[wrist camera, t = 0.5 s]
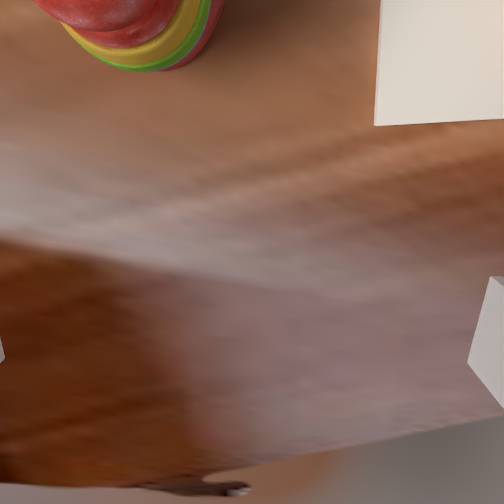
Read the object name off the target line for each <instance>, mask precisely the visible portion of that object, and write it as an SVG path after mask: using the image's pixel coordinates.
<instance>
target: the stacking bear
mask: <svg viewBox="0 0 504 504" xmlns="http://www.w3.org/2000/svg"><path fill="white" fill-rule="evenodd" d="M34 1H35V3H36V4H37V5H39V6H40V7H41V8H42V9H43V10H44V11H46V12H47V13H48V14H50V15H51V16H53V17H54V18H56V19H58V20H59V21H60V22H61V24H62V25H63V26H64V28H65V29H66V30H67V31H68V32H69V33H70V34H71V36H72V37H73V38H74V39H75V40H76V41H77V42H78V43H79V44H80V45H81V46H82V47H83V48H84V49H85V50H87V51H88V52H89V53H91V54H92V55H93V56H95V57H96V58H98V59H100V60H101V61H103V62H105V63H107V64H109V65H111V66H114V67H116V68H119V69H122V70H127V71H134V72H153V71H165V70H171V69H175V68H178V67H180V66H183V65H184V64H186V63H188V62H189V61H190V60H192V59H193V58H194V57H195V56H196V55H197V54H198V53H199V52H200V51H201V49H202V48H203V47H204V45H205V44H206V42H207V41H208V39H209V38H210V36H211V34H212V33H213V31H214V29H215V27H216V25H217V23H218V20H219V18H220V15H221V13H222V10H223V6H224V3H225V0H34Z"/></svg>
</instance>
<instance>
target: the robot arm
mask: <svg viewBox="0 0 504 504" xmlns="http://www.w3.org/2000/svg"><path fill="white" fill-rule="evenodd" d="M4 358H5V356H4V352H3V348H2V344H1V340H0V363H1V362H2V360H3V359H4ZM467 363H468V364H469V366H470V367H471V368H472V369H473V371H474V372H475V373H476V375H477V376H478V377H479V378H480V380H481V381H482V382H483V383H484V385H485V386H486V387H487V388H488V390H489V391H490V392H491V393H492V395H493V396H494V397H495V398H496V400H497V401H498V402H499V403H500V405H501V406H502V407H503V408H504V276H490V280H489V283H488V287H487V291H486V294H485V298H484V302H483V305H482V309H481V313H480V317H479V320H478V324H477V328H476V331H475V335H474V339H473V342H472V346H471V350H470V354H469V357H468V361H467Z"/></svg>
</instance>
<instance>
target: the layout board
mask: <svg viewBox="0 0 504 504" xmlns="http://www.w3.org/2000/svg"><path fill="white" fill-rule="evenodd" d="M502 118H504V0H381V5H380V23H379V41H378V59H377V76H376V94H375V112H374V126H384V125H401V124H418V123H435V122H452V121H469V120H485V119H502Z"/></svg>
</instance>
